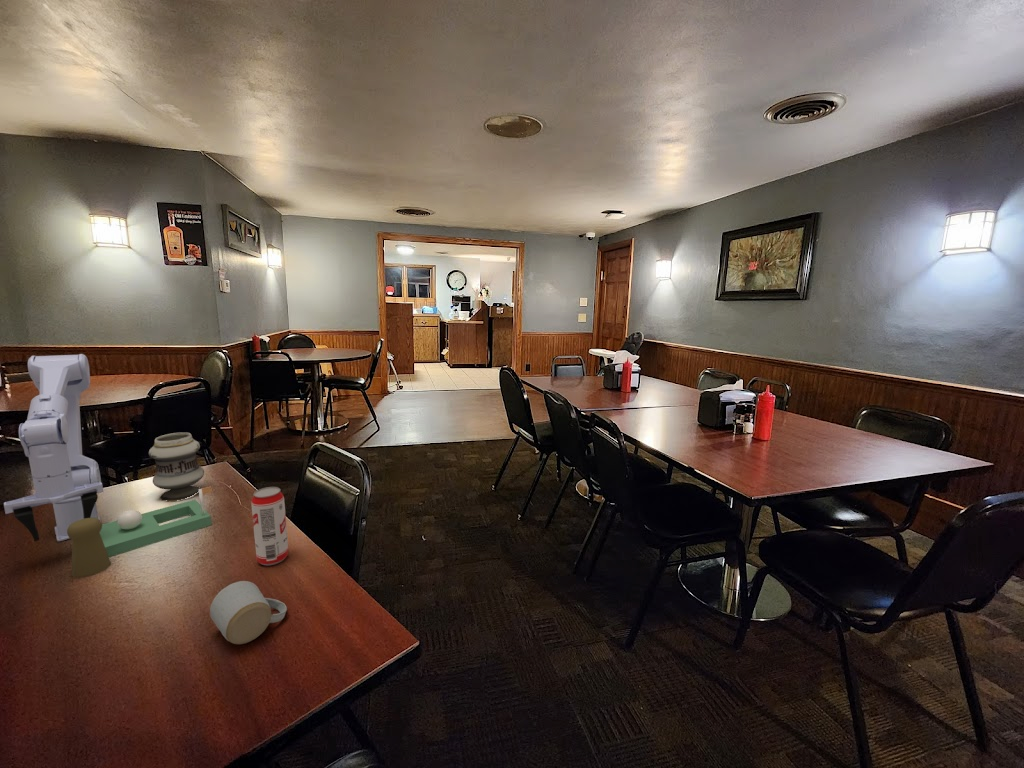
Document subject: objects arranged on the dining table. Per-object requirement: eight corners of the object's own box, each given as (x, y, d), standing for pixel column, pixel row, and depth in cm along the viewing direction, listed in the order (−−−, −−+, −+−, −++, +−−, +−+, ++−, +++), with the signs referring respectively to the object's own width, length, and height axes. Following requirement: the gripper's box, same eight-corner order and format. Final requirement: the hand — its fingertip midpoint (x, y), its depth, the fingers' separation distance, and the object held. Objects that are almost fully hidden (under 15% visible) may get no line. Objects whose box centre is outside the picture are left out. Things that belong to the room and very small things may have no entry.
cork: (86, 579, 88) (77, 529, 86) (63, 575, 89) (54, 526, 87) (118, 562, 94) (111, 515, 92) (96, 558, 95) (88, 512, 93)
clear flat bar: (201, 514, 110) (198, 489, 109) (213, 511, 112) (210, 485, 111) (202, 515, 110) (198, 489, 108) (214, 512, 112) (211, 486, 110)
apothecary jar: (143, 501, 122) (135, 440, 119) (182, 484, 134) (175, 429, 131) (180, 505, 120) (172, 443, 117) (216, 487, 132) (209, 431, 129)
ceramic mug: (228, 657, 69) (224, 614, 68) (211, 632, 74) (207, 592, 73) (295, 622, 77) (293, 583, 76) (276, 602, 82) (273, 565, 81)
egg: (117, 528, 103) (114, 511, 102) (141, 521, 106) (138, 504, 105) (120, 535, 100) (117, 517, 99) (145, 528, 103) (142, 510, 102)
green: (91, 537, 103) (89, 527, 103) (196, 507, 119) (195, 499, 119) (99, 560, 94) (97, 549, 94) (211, 524, 110) (210, 515, 110)
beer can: (256, 570, 92) (249, 500, 89) (257, 555, 97) (251, 488, 94) (289, 562, 94) (283, 494, 92) (288, 548, 100) (283, 483, 97)
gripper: (-1, 488, 84) (12, 552, 86) (101, 468, 95) (110, 526, 97) (-1, 479, 88) (12, 540, 91) (96, 461, 99) (105, 516, 101)
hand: (62, 532), depth 94 cm, fingers open, 7 cm apart
